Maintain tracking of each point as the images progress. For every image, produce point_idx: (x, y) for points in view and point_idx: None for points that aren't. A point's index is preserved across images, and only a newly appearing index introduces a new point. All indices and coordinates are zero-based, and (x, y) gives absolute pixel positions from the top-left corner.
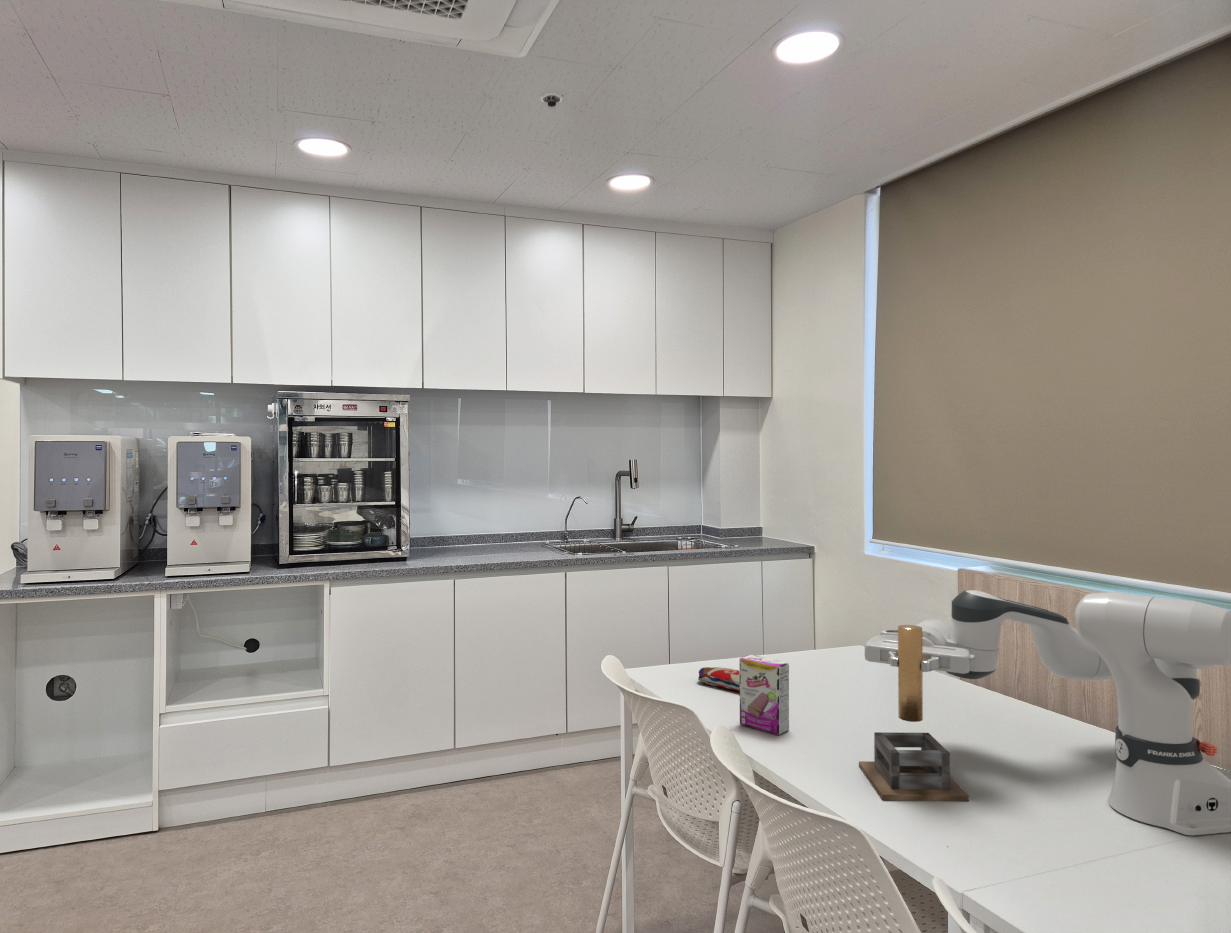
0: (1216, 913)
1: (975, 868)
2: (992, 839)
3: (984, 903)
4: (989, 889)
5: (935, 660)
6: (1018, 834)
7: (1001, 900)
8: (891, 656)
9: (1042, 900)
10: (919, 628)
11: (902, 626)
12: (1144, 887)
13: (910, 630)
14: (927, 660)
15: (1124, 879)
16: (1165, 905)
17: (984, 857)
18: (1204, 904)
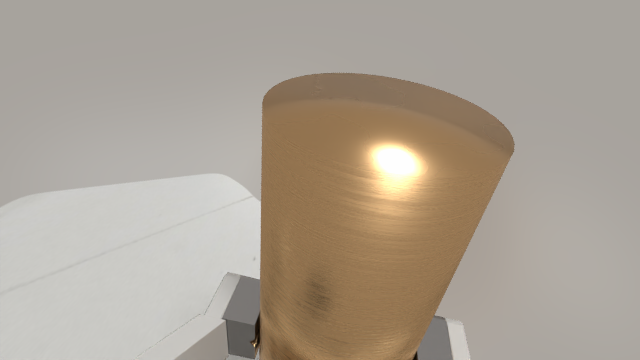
0: (8, 205)
1: (232, 225)
2: (184, 288)
3: (240, 185)
4: (229, 200)
5: (161, 344)
6: (132, 314)
7: (224, 190)
8: (465, 342)
9: (185, 195)
10: (292, 94)
11: (466, 127)
12: (47, 229)
13: (363, 80)
14: (228, 306)
15: (58, 239)
16: (55, 207)
17: (214, 246)
18: (3, 215)
